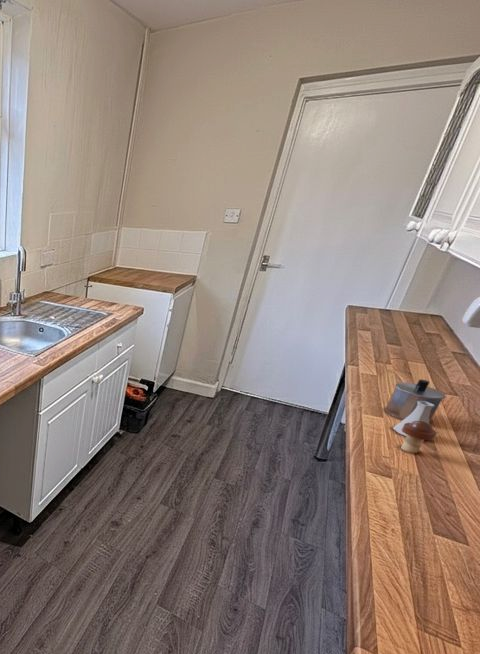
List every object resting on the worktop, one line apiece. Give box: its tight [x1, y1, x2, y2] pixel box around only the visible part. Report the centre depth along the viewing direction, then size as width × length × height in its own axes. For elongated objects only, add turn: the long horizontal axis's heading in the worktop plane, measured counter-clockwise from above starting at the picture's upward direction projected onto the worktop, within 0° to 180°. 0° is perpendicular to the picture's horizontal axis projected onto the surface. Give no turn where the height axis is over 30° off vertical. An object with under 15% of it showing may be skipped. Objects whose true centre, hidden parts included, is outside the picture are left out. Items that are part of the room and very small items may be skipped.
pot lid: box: [394, 379, 446, 400], centre depth 125 cm, size 11×11×4 cm
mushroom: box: [400, 421, 437, 454], centre depth 109 cm, size 6×6×9 cm
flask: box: [392, 401, 435, 437], centre depth 117 cm, size 7×7×10 cm
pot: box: [384, 386, 443, 423], centre depth 127 cm, size 10×10×8 cm
